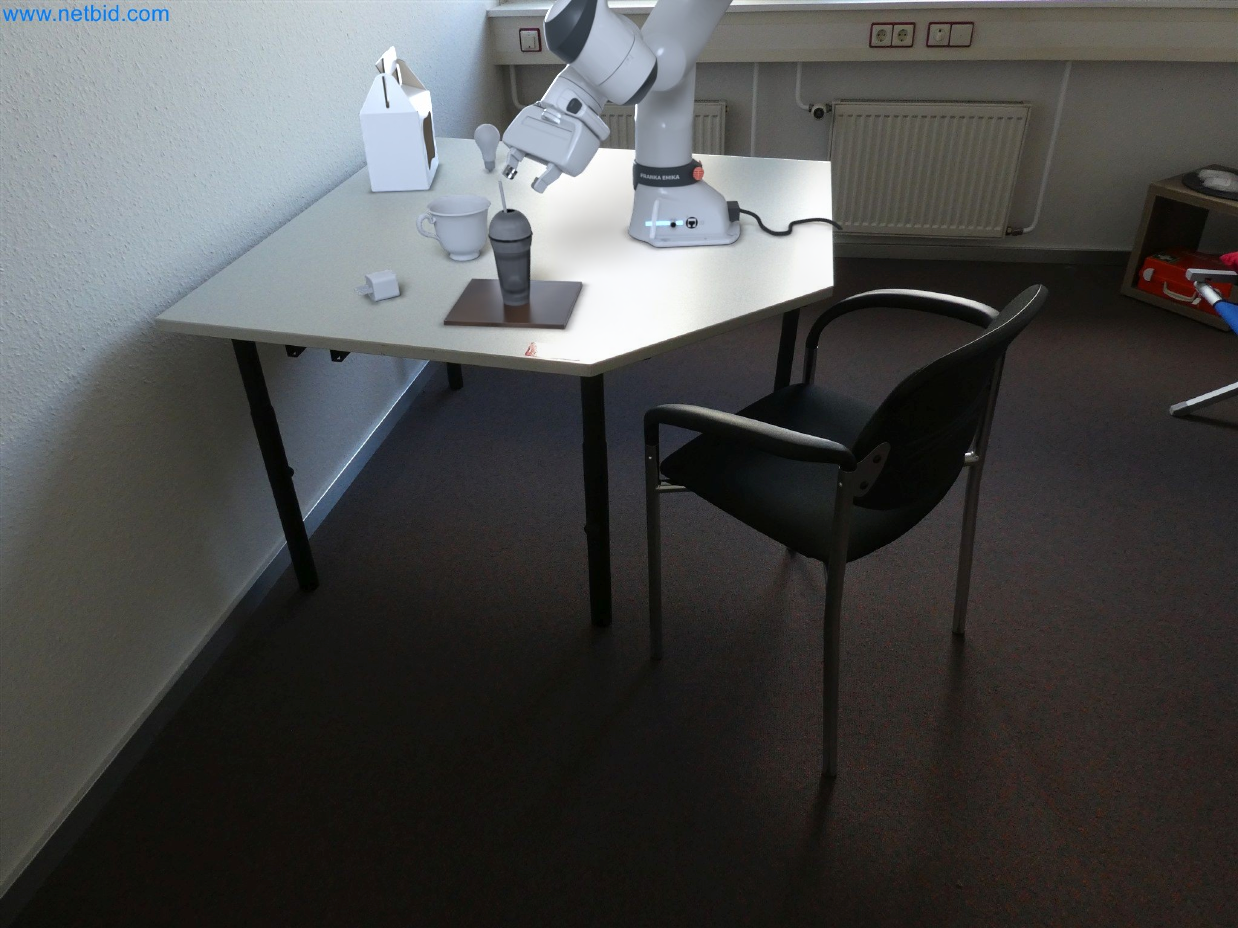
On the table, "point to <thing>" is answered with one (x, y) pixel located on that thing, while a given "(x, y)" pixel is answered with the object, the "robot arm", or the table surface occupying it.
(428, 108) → the gable box
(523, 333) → the table surface
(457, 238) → the teacup
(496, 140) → the lightbulb
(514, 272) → the beverage cup
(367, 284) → the usb wall charger
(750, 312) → the table surface
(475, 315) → the mat
